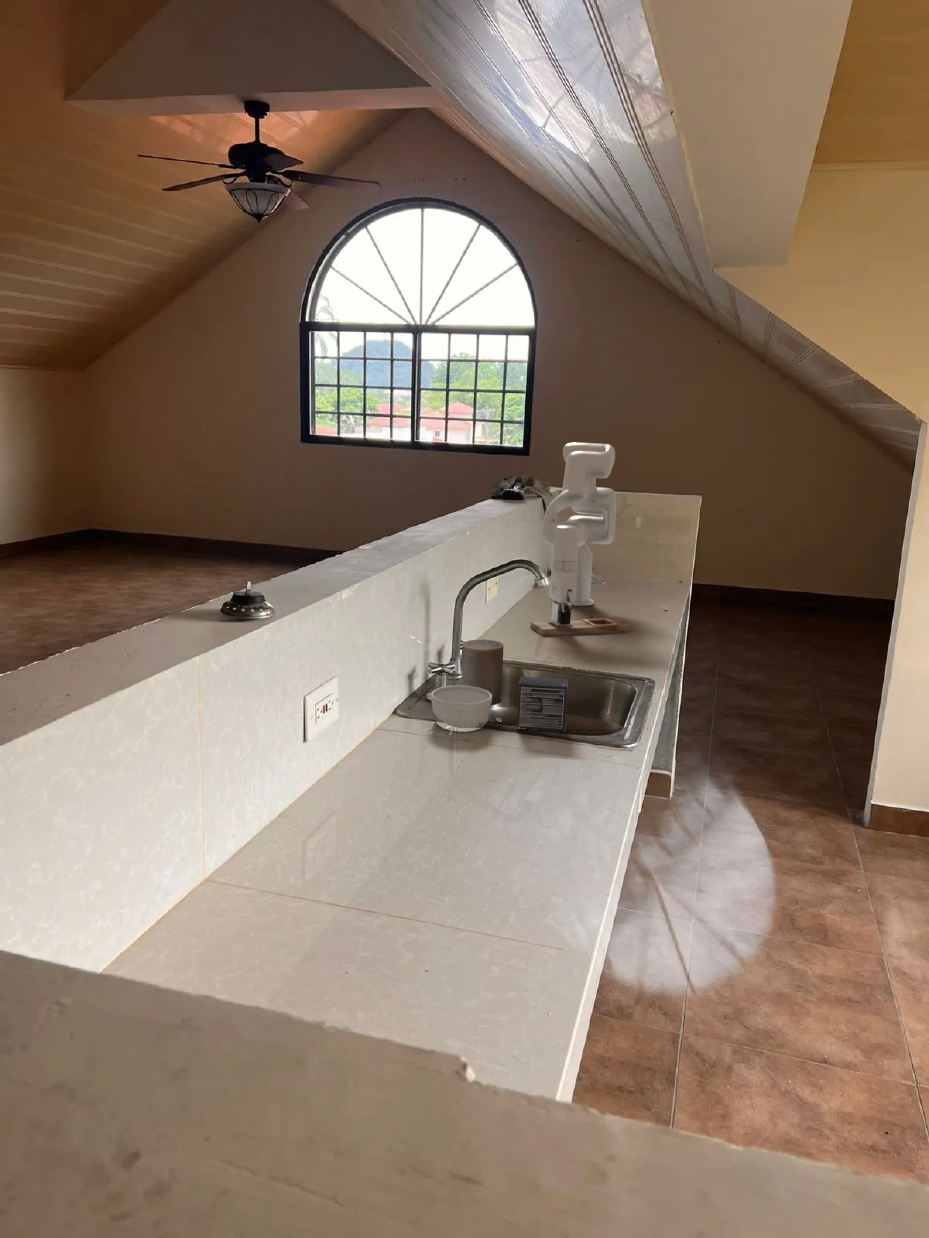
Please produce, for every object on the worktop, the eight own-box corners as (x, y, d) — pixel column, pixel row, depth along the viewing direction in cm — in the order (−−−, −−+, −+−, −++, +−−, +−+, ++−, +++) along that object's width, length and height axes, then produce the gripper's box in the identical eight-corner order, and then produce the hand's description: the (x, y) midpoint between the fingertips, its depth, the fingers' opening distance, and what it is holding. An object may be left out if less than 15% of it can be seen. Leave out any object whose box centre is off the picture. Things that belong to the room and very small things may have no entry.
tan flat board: (530, 628, 288) (530, 620, 287) (615, 624, 297) (615, 617, 296) (542, 635, 278) (543, 628, 278) (629, 632, 288) (630, 624, 287)
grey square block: (550, 629, 287) (552, 601, 285) (563, 629, 288) (565, 601, 286) (556, 633, 283) (558, 604, 281) (569, 632, 284) (571, 604, 282)
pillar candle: (508, 698, 216) (511, 637, 213) (488, 709, 208) (491, 645, 204) (473, 691, 221) (475, 631, 217) (452, 701, 212) (454, 639, 209)
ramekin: (437, 736, 189) (439, 705, 188) (423, 716, 202) (424, 686, 200) (498, 733, 193) (499, 702, 191) (480, 713, 205) (482, 683, 204)
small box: (565, 723, 201) (568, 677, 198) (565, 733, 194) (568, 686, 192) (517, 719, 202) (520, 674, 199) (516, 729, 195) (518, 683, 193)
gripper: (542, 560, 288) (538, 616, 292) (564, 570, 272) (561, 628, 276) (563, 560, 290) (560, 615, 294) (587, 570, 274) (583, 627, 278)
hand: (560, 621), depth 285 cm, fingers open, 6 cm apart
